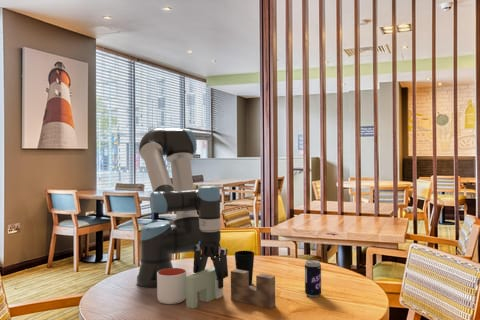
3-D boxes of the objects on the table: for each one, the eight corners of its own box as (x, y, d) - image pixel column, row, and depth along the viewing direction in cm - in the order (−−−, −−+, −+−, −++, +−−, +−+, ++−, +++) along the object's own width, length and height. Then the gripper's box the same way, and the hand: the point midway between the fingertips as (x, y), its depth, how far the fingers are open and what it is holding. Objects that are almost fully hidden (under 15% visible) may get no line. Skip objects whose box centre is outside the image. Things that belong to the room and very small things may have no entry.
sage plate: (193, 308, 138) (192, 278, 138) (186, 306, 140) (186, 276, 139) (222, 294, 151) (222, 267, 151) (216, 293, 153) (215, 265, 153)
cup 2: (252, 287, 159) (252, 255, 159) (233, 286, 161) (232, 254, 160) (256, 280, 167) (255, 250, 166) (237, 280, 168) (236, 250, 168)
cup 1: (173, 307, 139) (173, 277, 139) (151, 302, 144) (150, 273, 144) (192, 298, 148) (191, 270, 147) (170, 293, 153) (170, 266, 153)
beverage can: (311, 298, 146) (311, 264, 145) (301, 294, 151) (301, 260, 150) (324, 296, 148) (324, 262, 148) (314, 291, 153) (314, 258, 153)
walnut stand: (230, 299, 146) (230, 270, 146) (235, 297, 148) (235, 268, 148) (270, 308, 137) (270, 278, 137) (275, 306, 139) (275, 276, 139)
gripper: (181, 229, 150) (182, 293, 150) (225, 234, 139) (226, 303, 139) (195, 226, 156) (196, 287, 156) (238, 231, 145) (239, 297, 145)
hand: (210, 295), depth 148 cm, fingers open, 6 cm apart
